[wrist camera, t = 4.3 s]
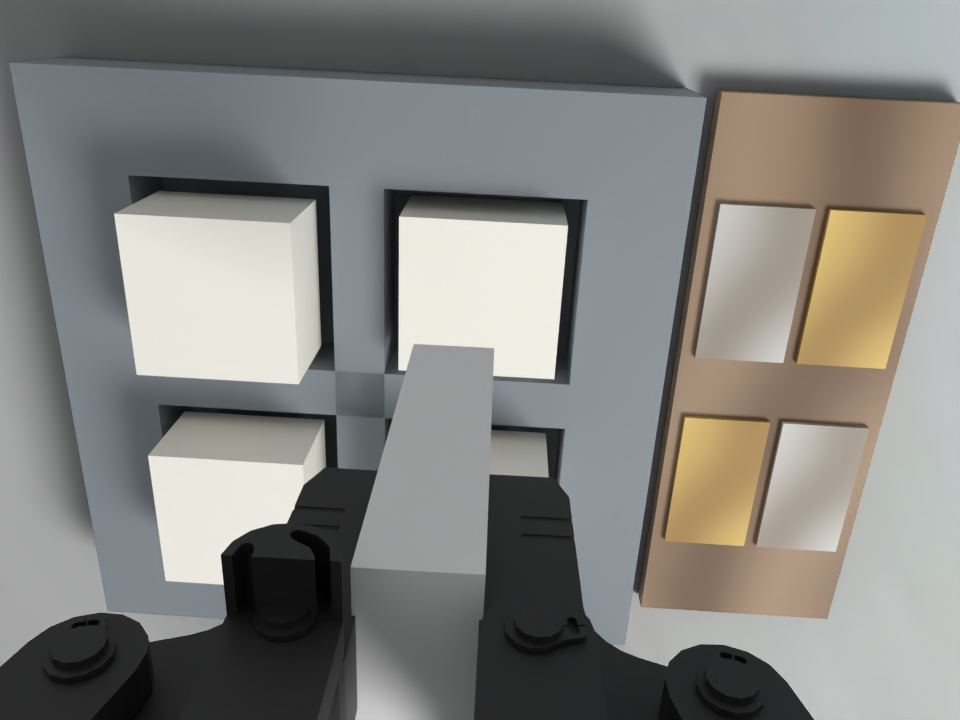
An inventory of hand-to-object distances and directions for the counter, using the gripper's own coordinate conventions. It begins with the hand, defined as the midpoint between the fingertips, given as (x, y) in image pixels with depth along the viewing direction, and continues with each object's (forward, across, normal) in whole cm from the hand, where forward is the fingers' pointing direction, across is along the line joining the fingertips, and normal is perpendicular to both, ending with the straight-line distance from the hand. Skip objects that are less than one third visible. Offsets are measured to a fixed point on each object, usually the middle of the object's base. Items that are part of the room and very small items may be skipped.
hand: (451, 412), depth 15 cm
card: (+9, +10, -3) cm, 14 cm away
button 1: (+9, 0, 0) cm, 9 cm away
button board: (+9, -3, -3) cm, 10 cm away
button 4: (+8, -6, -6) cm, 12 cm away
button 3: (+8, -6, 0) cm, 10 cm away
